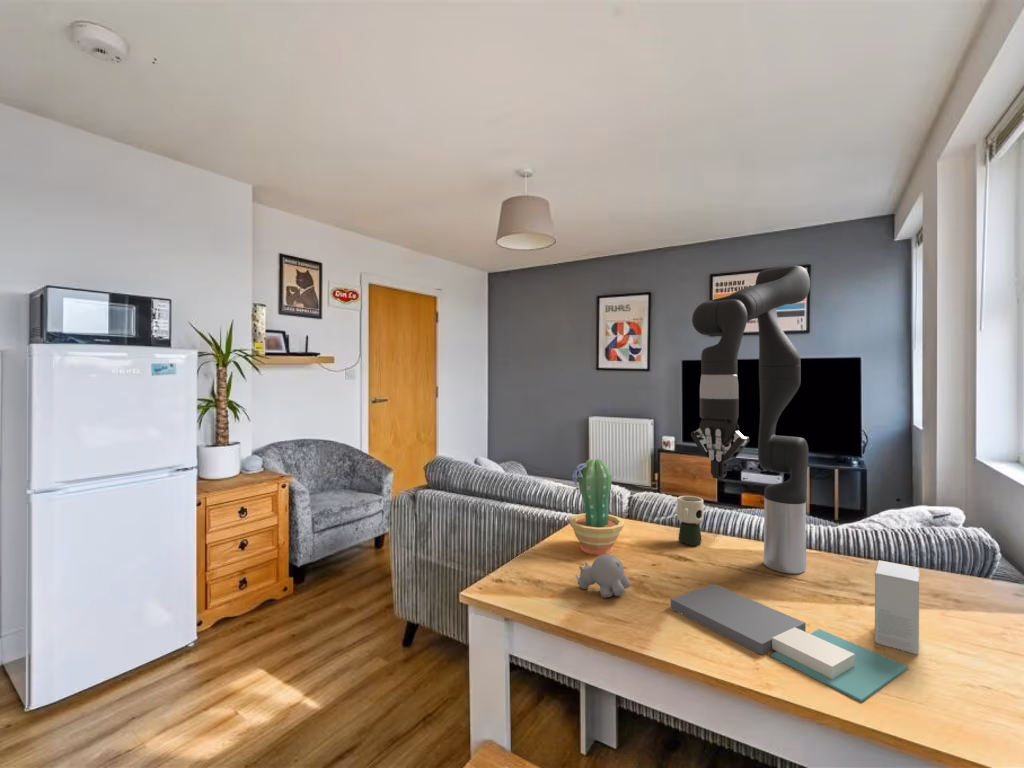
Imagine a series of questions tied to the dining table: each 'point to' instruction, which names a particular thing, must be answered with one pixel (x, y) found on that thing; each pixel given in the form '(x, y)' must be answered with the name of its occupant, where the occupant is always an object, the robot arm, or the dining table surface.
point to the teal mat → (853, 669)
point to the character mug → (690, 519)
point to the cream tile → (814, 652)
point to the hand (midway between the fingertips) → (718, 478)
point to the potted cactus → (595, 509)
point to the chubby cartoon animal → (604, 575)
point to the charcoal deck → (735, 616)
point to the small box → (897, 606)
